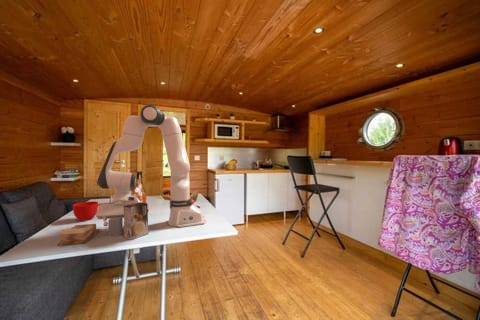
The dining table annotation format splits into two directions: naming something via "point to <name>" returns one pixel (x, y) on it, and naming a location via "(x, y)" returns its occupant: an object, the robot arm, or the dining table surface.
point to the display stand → (78, 234)
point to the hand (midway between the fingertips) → (115, 224)
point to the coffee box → (135, 220)
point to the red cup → (85, 210)
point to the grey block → (115, 226)
